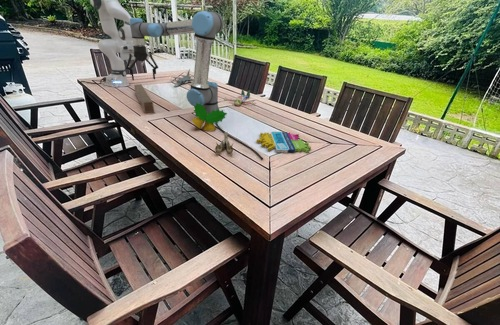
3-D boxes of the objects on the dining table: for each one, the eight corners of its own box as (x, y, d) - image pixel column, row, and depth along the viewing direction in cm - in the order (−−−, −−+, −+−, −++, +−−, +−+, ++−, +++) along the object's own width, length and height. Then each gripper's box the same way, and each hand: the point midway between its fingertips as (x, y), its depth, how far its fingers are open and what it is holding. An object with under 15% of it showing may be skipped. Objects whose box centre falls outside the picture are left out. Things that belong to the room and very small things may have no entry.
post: (153, 112, 184) (152, 102, 180) (145, 113, 181) (143, 102, 177) (142, 93, 224) (141, 84, 220) (135, 93, 222) (134, 84, 218)
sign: (313, 150, 142) (258, 149, 139) (312, 153, 143) (258, 152, 140) (301, 132, 164) (254, 130, 161) (301, 134, 165) (254, 133, 162)
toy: (261, 91, 228) (254, 99, 202) (261, 99, 231) (253, 108, 205) (231, 87, 233) (220, 95, 207) (230, 95, 236) (219, 104, 210)
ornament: (218, 133, 171) (224, 110, 169) (221, 134, 163) (227, 111, 161) (186, 125, 162) (192, 101, 160) (189, 126, 155) (195, 101, 153)
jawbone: (234, 135, 144) (233, 125, 135) (233, 160, 138) (232, 151, 129) (217, 135, 144) (216, 125, 135) (216, 160, 138) (214, 150, 129)
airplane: (164, 79, 274) (163, 69, 268) (194, 77, 287) (193, 68, 282) (173, 89, 245) (172, 78, 240) (205, 86, 258) (205, 76, 253)
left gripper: (147, 46, 205) (149, 65, 212) (118, 46, 197) (121, 65, 203) (148, 47, 201) (150, 66, 207) (119, 47, 192) (122, 66, 199)
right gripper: (158, 45, 175) (161, 77, 186) (117, 44, 165) (123, 78, 175) (160, 46, 170) (163, 79, 180) (118, 45, 159) (124, 81, 169)
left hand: (136, 65), depth 205 cm, fingers open, 8 cm apart
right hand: (143, 79), depth 178 cm, fingers open, 13 cm apart
